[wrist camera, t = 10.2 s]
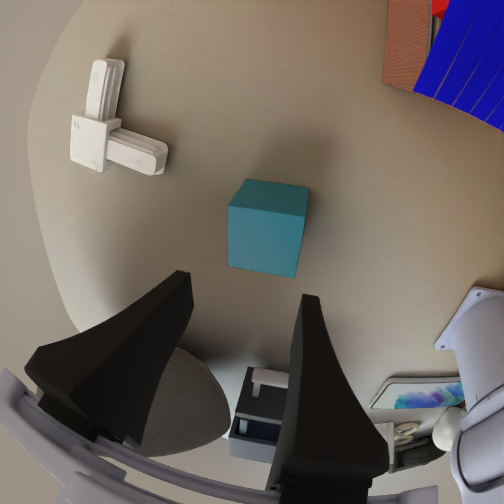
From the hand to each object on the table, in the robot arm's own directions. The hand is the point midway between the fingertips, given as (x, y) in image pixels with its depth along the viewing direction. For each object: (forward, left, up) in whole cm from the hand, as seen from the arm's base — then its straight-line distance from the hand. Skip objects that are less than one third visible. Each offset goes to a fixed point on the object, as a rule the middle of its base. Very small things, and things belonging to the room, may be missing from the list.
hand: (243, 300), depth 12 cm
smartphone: (-22, +20, -8) cm, 31 cm away
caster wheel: (-37, +36, -5) cm, 52 cm away
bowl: (+14, +13, -5) cm, 20 cm away
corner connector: (+11, -6, -8) cm, 15 cm away
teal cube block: (0, 0, -8) cm, 8 cm away
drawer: (-3, +20, -8) cm, 22 cm away
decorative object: (-25, +37, -8) cm, 45 cm away
